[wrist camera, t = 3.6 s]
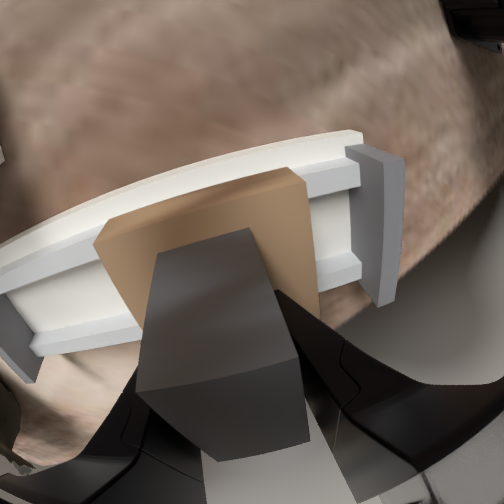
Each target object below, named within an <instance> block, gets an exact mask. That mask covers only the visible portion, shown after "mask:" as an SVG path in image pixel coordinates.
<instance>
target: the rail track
mask: <svg viewBox="0 0 504 504" xmlns="http://www.w3.org/2000/svg"><path fill="white" fill-rule="evenodd" d="M283 167H288V168H289V169H291V170H292V171H293V172H294V173H296V174H297V175H298V176H299V177H301V178H302V179H303V180H304V181H306V186H307V193H308V201H309V208H310V216H311V224H312V233H313V242H314V251H315V261H316V272H317V283H318V293H320V292H323V291H326V290H329V289H332V288H335V287H338V286H341V285H344V284H347V283H350V282H353V281H356V280H357V281H358V283H359V284H360V285H361V287H362V288H363V289H364V290H365V292H366V293H367V294H368V296H369V297H370V298H371V300H372V301H373V303H374V304H375V305H376V306H377V308H378V307H380V306H383V305H385V304H388V303H391V302H393V301H394V299H395V292H396V286H397V279H398V271H399V263H400V254H401V244H402V232H403V217H404V187H405V167H404V159H403V158H400V157H398V156H395V155H393V154H390V153H388V152H385V151H383V150H380V149H377V148H375V147H372V146H369V145H366V144H363V135H362V133H361V132H357V131H353V130H342V131H335V132H329V133H323V134H317V135H311V136H305V137H300V138H295V139H289V140H284V141H280V142H275V143H270V144H266V145H261V146H257V147H252V148H248V149H244V150H240V151H236V152H232V153H228V154H224V155H221V156H217V157H213V158H210V159H206V160H203V161H199V162H196V163H192V164H189V165H186V166H182V167H179V168H176V169H173V170H170V171H167V172H164V173H161V174H158V175H155V176H152V177H149V178H146V179H143V180H140V181H137V182H135V183H132V184H129V185H127V186H124V187H121V188H119V189H116V190H113V191H111V192H108V193H106V194H103V195H101V196H98V197H96V198H93V199H91V200H89V201H86V202H84V203H82V204H79V205H77V206H75V207H73V208H70V209H68V210H66V211H64V212H62V213H59V214H57V215H55V216H53V217H51V218H49V219H47V220H45V221H43V222H41V223H39V224H37V225H35V226H33V227H31V228H29V229H27V230H25V231H23V232H21V233H19V234H17V235H15V236H14V237H12V238H10V239H8V240H6V241H5V242H3V243H1V244H0V357H1V358H2V359H3V360H4V361H5V362H6V363H7V364H8V366H9V367H10V368H11V369H12V370H13V371H14V372H15V373H16V374H17V375H18V376H19V377H20V378H21V379H22V380H23V381H24V382H25V383H26V384H27V383H35V382H36V379H37V376H38V373H39V370H40V367H41V364H42V361H43V359H44V356H50V355H57V354H63V353H70V352H76V351H82V350H88V349H94V348H100V347H105V346H111V345H116V344H121V343H126V342H131V341H136V340H141V339H142V334H143V331H142V329H141V328H140V326H139V325H138V323H137V322H136V320H135V319H134V317H133V315H132V314H131V312H130V311H129V309H128V307H127V306H126V304H125V303H124V301H123V299H122V298H121V296H120V294H119V292H118V291H117V289H116V287H115V286H114V284H113V282H112V280H111V279H110V277H109V275H108V273H107V271H106V269H105V268H104V266H103V264H102V262H101V260H100V258H99V256H98V254H97V252H96V250H95V248H94V246H93V243H94V241H95V239H96V238H97V236H98V235H99V233H100V232H101V230H102V228H103V227H104V225H105V224H106V222H107V221H108V219H111V218H113V217H116V216H119V215H122V214H125V213H127V212H130V211H133V210H136V209H139V208H142V207H145V206H148V205H151V204H154V203H157V202H160V201H163V200H166V199H169V198H172V197H176V196H179V195H182V194H185V193H189V192H192V191H195V190H199V189H202V188H206V187H209V186H213V185H216V184H220V183H223V182H227V181H231V180H235V179H238V178H242V177H246V176H250V175H254V174H258V173H262V172H266V171H270V170H275V169H279V168H283Z"/></svg>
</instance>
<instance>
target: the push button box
mask: <svg viewBox="0 0 504 504" xmlns="http://www.w3.org/2000/svg"><path fill="white" fill-rule="evenodd" d="M4 161H5V159H4V156H3V152H2V149H1V146H0V164H2V163H3V162H4Z"/></svg>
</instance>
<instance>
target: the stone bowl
mask: <svg viewBox="0 0 504 504" xmlns="http://www.w3.org/2000/svg"><path fill="white" fill-rule="evenodd" d="M20 418H21V410H20V407H19V405H18V403H17V401H16V399H15V398H14V396H13V394H12V393H11V392H10V391H8V390H6V389H5V387H4V386H3V385H2V383H1V382H0V454H1V455H3V456H5V457H6V458H7V459H8V461H9V462H10V463H13V464H14V466H15V468H16V469H17V470H18V471H19V473H20V474H26V475H27V476H28V475H29V472H31V468H32V469H33V468H35V467H33V465H31V464H30V463H29V462H27V461H26V460H24V459H23V458H21V457H20V456H18V455H17V454H15V453H14V452H13V451H12V448H13V445H14V442H15V439H16V437H17V435H18V433H19V430H20Z"/></svg>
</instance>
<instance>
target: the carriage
mask: <svg viewBox="0 0 504 504" xmlns="http://www.w3.org/2000/svg"><path fill="white" fill-rule="evenodd" d="M93 246H94V248H95V250H96V252H97V254H98V256H99V258H100V260H101V262H102V264H103V266H104V268H105V269H106V271H107V273H108V275H109V277H110V279H111V280H112V282H113V284H114V286H115V287H116V289H117V291H118V292H119V294H120V296H121V298H122V299H123V301H124V303H125V304H126V306H127V307H128V309H129V311H130V312H131V314H132V315H133V317H134V319H135V320H136V322H137V323H138V325H139V326H140V328H141V329H142V331H143V334H142V340H141V348H140V355H139V363H138V372H137V381H136V391H135V392H136V393H137V394H138V395H139V396H140V397H141V398H142V399H143V400H144V401H145V402H146V403H147V404H148V405H149V406H150V407H151V408H152V409H153V410H154V411H155V412H156V413H158V414H159V415H160V416H161V417H162V418H163V419H164V420H165V421H167V422H168V423H169V424H170V425H171V426H172V427H173V428H175V429H176V430H177V431H178V432H179V433H181V434H182V435H183V436H184V437H186V438H187V439H188V440H189V441H191V442H192V443H193V444H194V445H196V446H197V447H198V448H200V449H201V450H202V451H204V452H205V453H207V454H208V455H209V456H210V457H212V458H213V459H215V460H216V461H217V462H220V461H227V460H233V459H239V458H245V457H249V456H255V455H260V454H264V453H268V452H272V451H277V450H281V449H284V448H288V447H292V446H296V445H299V444H302V443H306V442H309V441H310V434H309V426H308V419H307V412H306V405H305V397H304V390H303V383H302V377H301V370H300V363H299V357H298V354H297V351H296V349H295V346H294V344H293V341H292V338H291V336H290V333H289V330H288V328H287V325H286V323H285V320H284V317H283V315H282V312H281V309H280V307H279V304H278V302H277V299H276V296H275V294H274V291H273V290H276V289H279V290H281V291H282V292H283V293H285V294H286V295H287V296H289V297H290V298H291V299H293V300H294V301H295V302H297V303H298V304H299V305H301V306H302V307H303V308H305V309H306V310H307V311H309V312H310V313H311V314H313V315H314V316H315V317H317V318H318V319H319V320H320V310H319V296H318V283H317V272H316V261H315V251H314V242H313V233H312V224H311V216H310V208H309V201H308V193H307V186H306V181H304V180H303V179H302V178H301V177H299V176H298V175H297V174H296V173H294V172H293V171H292V170H291V169H289V168H288V167H283V168H279V169H275V170H270V171H266V172H262V173H258V174H254V175H250V176H246V177H242V178H238V179H235V180H231V181H227V182H223V183H220V184H216V185H213V186H209V187H206V188H202V189H199V190H195V191H192V192H189V193H185V194H182V195H179V196H176V197H172V198H169V199H166V200H163V201H160V202H157V203H154V204H151V205H148V206H145V207H142V208H139V209H136V210H133V211H130V212H127V213H125V214H122V215H119V216H116V217H113V218H111V219H108V221H107V222H106V224H105V225H104V227H103V228H102V230H101V232H100V233H99V235H98V236H97V238H96V239H95V241H94V243H93Z"/></svg>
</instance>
